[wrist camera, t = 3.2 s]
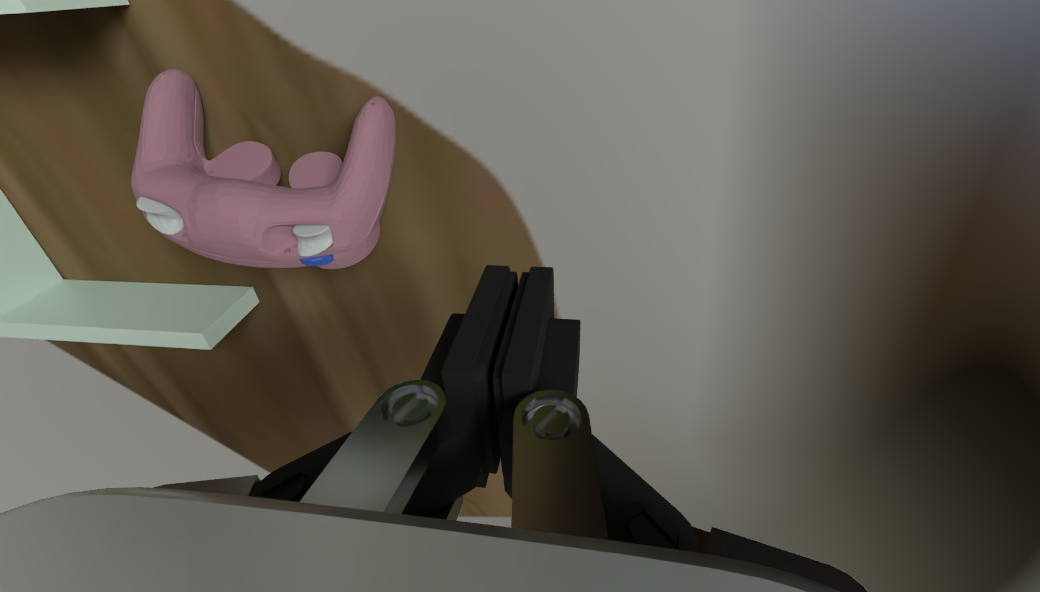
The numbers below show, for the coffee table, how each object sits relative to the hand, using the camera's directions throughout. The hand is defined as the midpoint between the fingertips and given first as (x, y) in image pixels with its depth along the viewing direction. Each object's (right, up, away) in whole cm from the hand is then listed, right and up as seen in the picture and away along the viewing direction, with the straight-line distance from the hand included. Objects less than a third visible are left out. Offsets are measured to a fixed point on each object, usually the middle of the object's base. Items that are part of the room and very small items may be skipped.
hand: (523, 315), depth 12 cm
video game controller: (-10, +7, +9) cm, 15 cm away
